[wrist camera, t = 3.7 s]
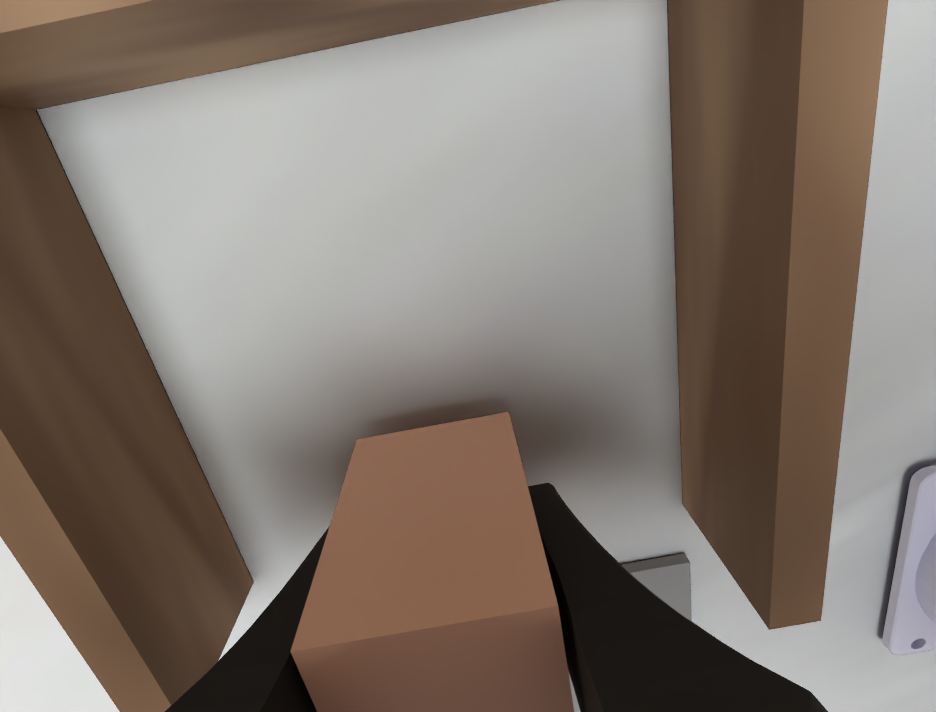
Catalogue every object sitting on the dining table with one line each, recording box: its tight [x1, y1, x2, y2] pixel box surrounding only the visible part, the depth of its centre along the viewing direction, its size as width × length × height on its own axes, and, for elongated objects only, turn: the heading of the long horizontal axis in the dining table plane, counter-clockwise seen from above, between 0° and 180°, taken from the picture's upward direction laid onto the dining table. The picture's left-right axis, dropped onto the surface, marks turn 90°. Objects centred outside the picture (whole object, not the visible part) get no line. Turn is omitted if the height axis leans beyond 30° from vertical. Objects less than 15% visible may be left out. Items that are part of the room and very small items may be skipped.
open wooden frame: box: [0, 0, 888, 712], centre depth 11 cm, size 16×15×4 cm
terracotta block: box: [290, 412, 574, 712], centre depth 11 cm, size 4×4×6 cm
